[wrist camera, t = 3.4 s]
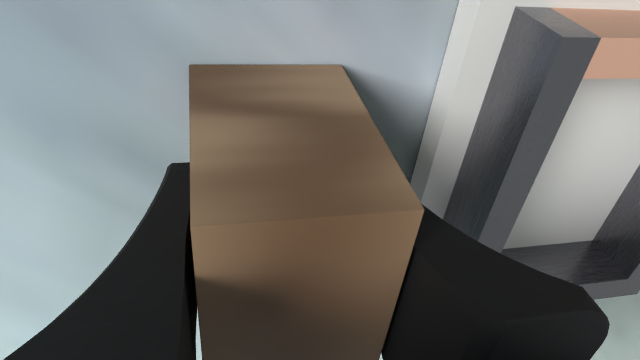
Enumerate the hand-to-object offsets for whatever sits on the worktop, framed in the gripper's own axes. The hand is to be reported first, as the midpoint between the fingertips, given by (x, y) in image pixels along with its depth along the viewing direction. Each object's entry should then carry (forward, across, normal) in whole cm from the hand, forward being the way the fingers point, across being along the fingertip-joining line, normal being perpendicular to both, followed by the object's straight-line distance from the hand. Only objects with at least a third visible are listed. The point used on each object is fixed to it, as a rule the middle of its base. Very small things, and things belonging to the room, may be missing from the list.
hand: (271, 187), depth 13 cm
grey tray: (+2, -10, 0) cm, 10 cm away
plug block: (+1, 0, 0) cm, 1 cm away
